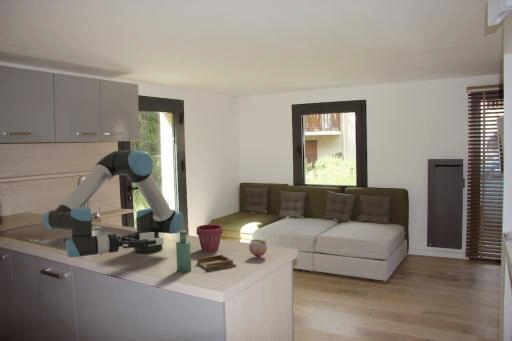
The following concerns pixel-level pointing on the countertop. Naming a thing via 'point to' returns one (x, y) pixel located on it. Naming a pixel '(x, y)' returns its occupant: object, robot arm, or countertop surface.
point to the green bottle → (183, 253)
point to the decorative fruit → (258, 247)
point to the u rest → (215, 262)
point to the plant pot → (209, 237)
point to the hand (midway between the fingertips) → (158, 237)
